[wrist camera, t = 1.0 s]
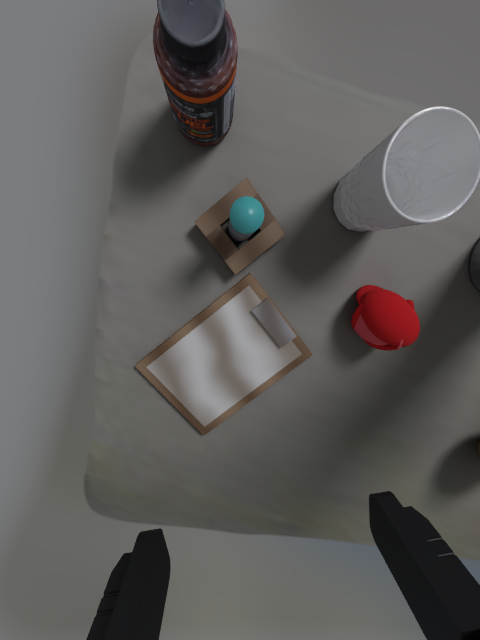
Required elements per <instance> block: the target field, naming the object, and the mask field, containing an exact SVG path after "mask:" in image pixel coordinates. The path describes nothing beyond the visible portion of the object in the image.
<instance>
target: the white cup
mask: <svg viewBox="0 0 480 640" xmlns="http://www.w3.org/2000/svg"><path fill="white" fill-rule="evenodd" d="M479 178H480V135H479V132H478V130H477V128H476V126H475V125H474V123H473V122H472V121H471V120H470V119H469V118H468V117H467V116H466V115H465V114H463V113H462V112H460V111H458V110H456V109H453V108H450V107H443V106H438V107H431V108H427V109H424V110H422V111H420V112H418V113H416V114H414V115H413V116H411V117H410V118H408V119H407V120H406V121H405V122H404V123H403V124H401V125H400V126H399V127H398V128H397V129H396V130H395V131H393V132H392V133H391V134H390V135H389V136H388V137H387V138H385V139H384V140H383V141H382V142H381V143H380V144H379V145H377V146H376V147H375V148H374V149H373V150H372V151H371V152H369V153H368V154H367V155H366V156H365V157H364V158H363V159H362V160H361V161H360V162H359V163H357V164H356V165H355V167H354V168H353V169H352V170H351V171H350V172H349V173H348V174H347V175H346V176H345V177H344V178H342V179H341V180H340V182H339V184H338V186H337V188H336V191H335V193H334V202H333V209H334V212H335V214H336V217H337V219H338V221H339V222H340V223H341V224H342V225H344V226H345V227H346V228H347V229H349V230H354V231H359V232H362V231H368V230H382V229H392V228H398V227H405V226H412V225H419V224H426V223H433V222H437V221H440V220H443V219H445V218H447V217H449V216H450V215H452V214H453V213H455V212H456V211H457V210H459V209H460V208H461V207H462V206H463V205H464V204H465V203H466V201H467V200H468V199H469V198H470V196H471V195H472V193H473V191H474V189H475V188H476V185H477V183H478V181H479Z"/></svg>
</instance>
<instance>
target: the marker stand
mask: <svg viewBox="0 0 480 640" xmlns="http://www.w3.org/2000/svg"><path fill="white" fill-rule="evenodd" d="M244 196H250V197H253V198H255V199H257V200H258V201H259V202H260V203H261V205H262V207H263V209H264V220H263V223H262V225H261V226H260V227H259V228H258V229H257V230H258V232H259V233H258V234H257V235H256V236H255V237H254V238H252V239H251V240H250V241H249V242H247V243H246V244H245V245H244V246H243V247H241V248H240V249H239V250H238V249H237V247H236V246H235V245H234V243H233V242H232V241H231V240H230V238H229V237H228V236H227V234H226V233H225V232H224V230H223V229H222V228H221V226H222V225H224V224H225V223H226V222H227V221H229V220H230V210H231V207H232V205H233V203H234V202H235V201H236V200H237V199H239V198H240V197H244ZM194 222H195V224H196V225H197V226H198V228H199V229H200V230H201V232H202V233H203V234H204V235H205V237H206V238H207V239H208V240H209V242H210V243H211V244H212V246H213V247H214V248H215V249H216V251H217V252H218V253H219V255H220V256H221V257H222V258H223V260H224V261H225V262H226V264H227V265H228V266H229V267H230V269H231V270H232V271H233V273H234V274H235V275H236V274H237V273H238V272H240V271H241V270H242V269H243V268H245V267H246V266H247V265H248V264H250V263H251V262H252V261H253V260H255V259H256V258H257V257H258V256H260V255H261V254H262V253H263V252H265V251H266V250H267V249H268V248H270V247H271V246H272V245H273V244H274V243H276V242H277V241H278V240H279V239H281V238H282V237H283V236H284V235H286V233H285V232H284V231H283V229H282V228H281V226H280V225H279V223H278V222H277V220H276V219H275V218H274V216H273V215H272V213H271V212H270V210H269V209H268V208H267V206H266V205H265V203H264V202H263V200H262V199H261V197H260V196H259V195H258V193H257V192H256V190H255V189H254V187H253V186H252V184H251V183H250V182H249V180H248V179H247V177H246V178H245V179H244V180H243V181H242V182H240V183H239V184H238V185H237V186H236V187H235V188H233V189H232V190H231V191H230V192H229V193H227V194H226V195H225V196H224V197H223V198H222V199H220V200H219V201H218V202H217V203H216V204H214V205H213V206H212V207H211V208H210V209H209V210H207V211H206V212H205V213H204V214H203V215H201V216H200V217H199V218H198V219H197V220H196V221H194Z"/></svg>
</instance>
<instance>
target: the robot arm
mask: <svg viewBox="0 0 480 640" xmlns="http://www.w3.org/2000/svg"><path fill="white" fill-rule="evenodd" d="M470 276H471V279H472V281H473V284H474V285H475V286H476V288H477V289H478V290H479V291H480V240H479V242H478V243H477V244H476V246H475V248H474V251H473V253H472V256H471V260H470ZM369 515H370V528H371V532H372V535H373V538H374V540H375V543H376V545H377V547H378V549H379V550H380V552H381V554H382V556H383V558H384V560H385V562H386V564H387V565H388V567H389V569H390V571H391V573H392V575H393V577H394V579H395V580H396V582H397V584H398V586H399V588H400V590H401V592H402V594H403V595H404V597H405V599H406V601H407V603H408V605H409V606H410V609H411V610H412V612H413V614H414V616H415V618H416V620H417V622H418V623H419V625H420V627H421V629H422V631H423V633H424V635H425V637H426V638H427V640H480V585H479V584H478V583H477V581H476V580H475V579H474V577H473V576H472V575H471V574H470V572H469V571H468V570H467V569H466V567H465V566H464V565H463V564H462V562H461V561H460V560H459V558H458V557H457V556H455V555H454V553H453V551H452V550H451V548H450V547H449V546H448V544H447V543H446V542H445V541H444V540H443V539H442V537H441V536H440V534H439V533H438V532H437V530H436V529H435V528H434V527H433V525H432V524H431V523H430V522H429V520H428V519H427V518H425V517H424V516H423V515H422V514H420V513H419V512H418V511H417V510H415V509H414V508H413V507H412V506H409V507H403V506H402V505H401V504H400V502H399V501H398V500H397V498H396V497H395V496H394V494H393V493H392V492H390V491H387V492H381V493H375V494H370V495H369ZM169 578H170V557H169V553H168V549H167V546H166V542H165V538H164V535H163V532H162V529H154V530H148V531H142V532H140V533H139V535H138V537H137V539H136V543H135V546H134V549H133V552H131V553H125V554H123V556H122V557H121V559H120V560H119V562H118V563H117V565H116V566H115V568H114V569H113V571H112V572H111V575H110V578H109V580H108V583H107V586H106V589H105V591H104V597H103V598H102V599H101V602H100V605H99V607H98V610H97V615H96V617H95V618H94V621H93V624H92V626H91V629H90V632H89V634H88V637H87V640H159V634H160V629H161V623H162V618H163V612H164V606H165V601H166V596H167V590H168V585H169Z"/></svg>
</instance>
